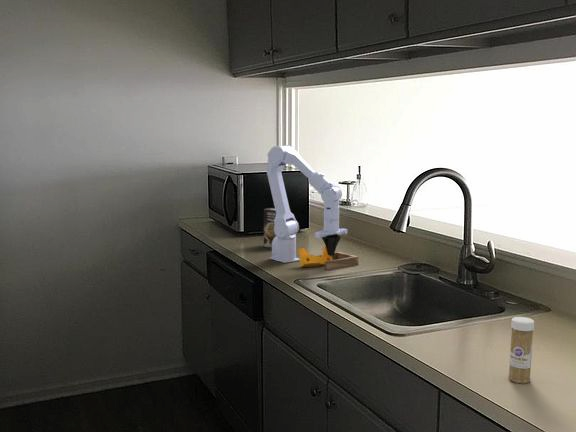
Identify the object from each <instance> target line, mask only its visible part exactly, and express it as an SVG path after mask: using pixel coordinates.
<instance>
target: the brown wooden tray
mask: <svg viewBox="0 0 576 432" xmlns="http://www.w3.org/2000/svg"><path fill="white" fill-rule="evenodd" d="M314 256H320V257H321V256H322V253H321V254H314ZM357 265H359V256H357V255H353V254H350V253H345V252H341V251H335V253H334V255H332V260H331V261H325V265H324V270H325V271H330V270H335V269H341V268H347V267H353V266H357Z"/></svg>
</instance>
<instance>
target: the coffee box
mask: <svg viewBox="0 0 576 432" xmlns="http://www.w3.org/2000/svg"><path fill="white" fill-rule="evenodd" d="M275 217H276V210H275V207H267V208H264V209H263V247H265V248H272V241H273V239H274V238H275V237H276V234H275V232H274V226H275V223H274V219H275Z"/></svg>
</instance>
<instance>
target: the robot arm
mask: <svg viewBox="0 0 576 432" xmlns="http://www.w3.org/2000/svg"><path fill="white" fill-rule="evenodd" d="M286 165H293V166H294V167H295V168H296V169H297V170H299V171H300V172H301V173H302V174H303V175H304V176H305V177H307V178H308V184H309V185H310V186H311V187H312V188H313V189H314V190H315V191H317V192H318V194H319V195H320V198H321V201H323V230H320V231H319V230H318V231H316V232H315V231H314V238H315V239H320V238H321V239H322V241H323V243H324V245H325V247H326V248H327V252H328V255H331V256H332V255H334V253H335V252H336V249H337V246H338V244H339V242H340V241H341V235H347V234H348V229H347V228H340V200H341V198H342V197H343V193H342V190H341V188H340V186H338V185H334V183H333V182H331V181H330V180H328V178H326V177H325V173H324V172H320V171H315V170H314V169H313V168H312V167H311V166H310V165H309V164H308V163H307V162H306V161H305V159H303V158H302V156H301V155H300V153H299V152H298V151H297V150H296V149H294V148H293V146H291V145H289V144H285V145H274V146H272V147H271V148H270V150H269V151H268V152H267V162H266V167H265V169H266V170H265V171H266V175H267V179H268V183H269V187H270V192H271V197H272V201H273V206H274V208H275V210H276V217H275V219H274V223H275V226H274V232H275V234H276V237H275V238H274V239H273V241H272V247H271V257H270V259H269V260H274V261H276V262H280V263H286V264H287V263H291V262H297V261H299V262H300V259H299V257H297V233H298V232H299V229H300V225H299V222H298V221H297V219H296V217H295V214H294V213H292V212H291V211H292V210H291V208H290V205H289V200H288V196H287V192H286V188H285V183H284V179H283V178H284V177H283V175H282V171H283V169H284V168H285V166H286Z"/></svg>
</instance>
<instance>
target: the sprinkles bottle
mask: <svg viewBox="0 0 576 432" xmlns="http://www.w3.org/2000/svg"><path fill="white" fill-rule="evenodd" d="M510 324H511V325H510V326H511V337H510V338H511V339H510V350H509V369H508V379H509V380H510V381H511V382H513V383H515V384H516V383H517V384H527V383H530V382H531V370H532V369H531V367H532V355H533V336H534V330H535V320H533V319H532V318H530V317H525V316H515V317H512V318H511V323H510Z"/></svg>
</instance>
